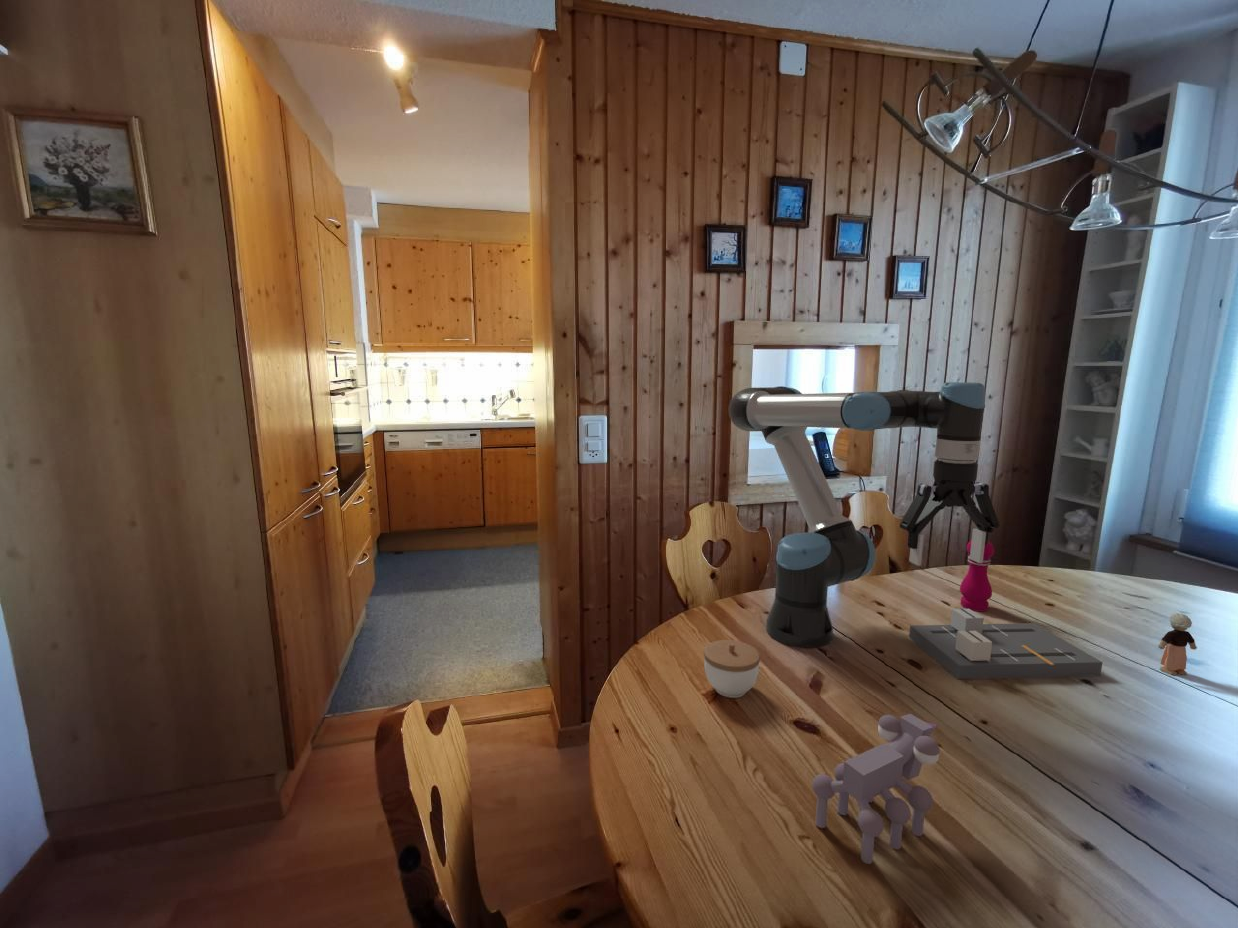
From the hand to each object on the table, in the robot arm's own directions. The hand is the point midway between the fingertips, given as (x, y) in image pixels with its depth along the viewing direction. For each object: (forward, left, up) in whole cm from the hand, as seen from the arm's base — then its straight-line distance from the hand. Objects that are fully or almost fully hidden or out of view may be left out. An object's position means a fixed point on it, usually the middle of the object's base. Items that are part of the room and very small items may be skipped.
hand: (945, 562), depth 115 cm
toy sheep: (-32, -40, -23) cm, 56 cm away
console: (+16, +3, -23) cm, 28 cm away
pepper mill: (+28, +29, -23) cm, 47 cm away
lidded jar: (-46, -7, -23) cm, 52 cm away
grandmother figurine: (+47, -5, -23) cm, 53 cm away
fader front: (+6, -2, -19) cm, 21 cm away
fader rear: (+12, +9, -19) cm, 25 cm away
